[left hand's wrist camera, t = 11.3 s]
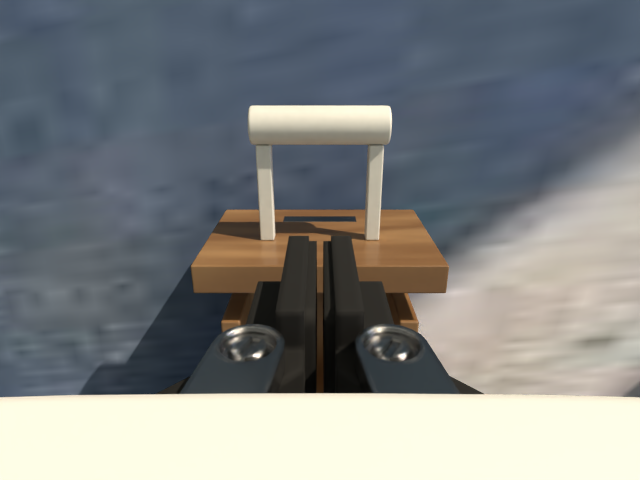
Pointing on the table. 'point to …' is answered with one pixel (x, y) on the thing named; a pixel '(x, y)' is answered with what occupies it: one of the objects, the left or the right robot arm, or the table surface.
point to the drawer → (319, 222)
